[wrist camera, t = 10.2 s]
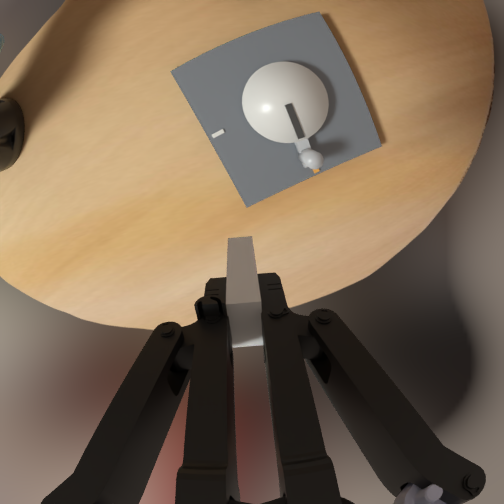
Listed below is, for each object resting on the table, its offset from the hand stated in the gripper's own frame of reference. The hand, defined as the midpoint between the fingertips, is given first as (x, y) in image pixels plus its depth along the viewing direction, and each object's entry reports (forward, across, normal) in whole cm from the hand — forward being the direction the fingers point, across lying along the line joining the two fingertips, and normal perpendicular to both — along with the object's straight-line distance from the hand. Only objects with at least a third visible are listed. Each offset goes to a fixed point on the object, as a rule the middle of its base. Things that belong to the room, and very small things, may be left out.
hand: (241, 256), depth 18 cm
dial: (+24, +8, +9) cm, 27 cm away
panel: (+26, +7, +11) cm, 29 cm away
